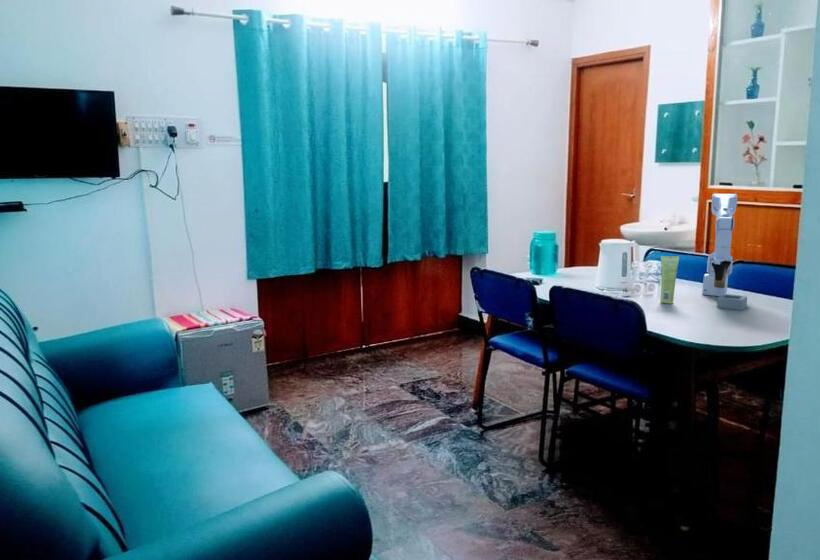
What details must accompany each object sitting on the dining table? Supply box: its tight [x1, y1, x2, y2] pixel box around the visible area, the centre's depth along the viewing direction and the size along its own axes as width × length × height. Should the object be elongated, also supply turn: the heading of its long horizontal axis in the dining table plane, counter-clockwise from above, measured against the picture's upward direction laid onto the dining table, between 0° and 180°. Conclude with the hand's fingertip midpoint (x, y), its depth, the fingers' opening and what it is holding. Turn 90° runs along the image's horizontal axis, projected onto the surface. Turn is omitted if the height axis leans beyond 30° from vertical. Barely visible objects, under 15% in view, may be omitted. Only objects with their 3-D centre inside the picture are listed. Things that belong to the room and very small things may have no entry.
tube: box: [659, 255, 680, 304], centre depth 261 cm, size 6×5×20 cm
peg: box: [714, 268, 726, 288], centre depth 258 cm, size 4×4×8 cm
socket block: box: [716, 293, 748, 311], centre depth 254 cm, size 9×9×4 cm
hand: (720, 279), depth 258 cm, fingers closed on peg, 4 cm apart
